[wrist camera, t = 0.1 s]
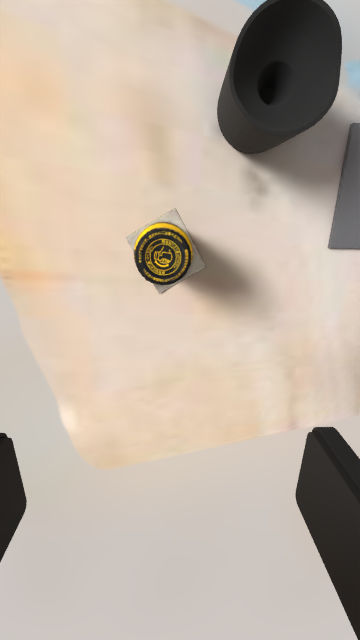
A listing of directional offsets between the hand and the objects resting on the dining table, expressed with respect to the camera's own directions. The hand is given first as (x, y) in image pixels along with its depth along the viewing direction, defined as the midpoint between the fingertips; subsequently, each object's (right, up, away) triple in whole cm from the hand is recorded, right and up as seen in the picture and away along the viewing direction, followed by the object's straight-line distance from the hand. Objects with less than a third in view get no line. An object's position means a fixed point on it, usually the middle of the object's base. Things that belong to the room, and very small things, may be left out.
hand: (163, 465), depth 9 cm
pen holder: (+9, +29, +24) cm, 38 cm away
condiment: (-1, +14, +29) cm, 32 cm away
